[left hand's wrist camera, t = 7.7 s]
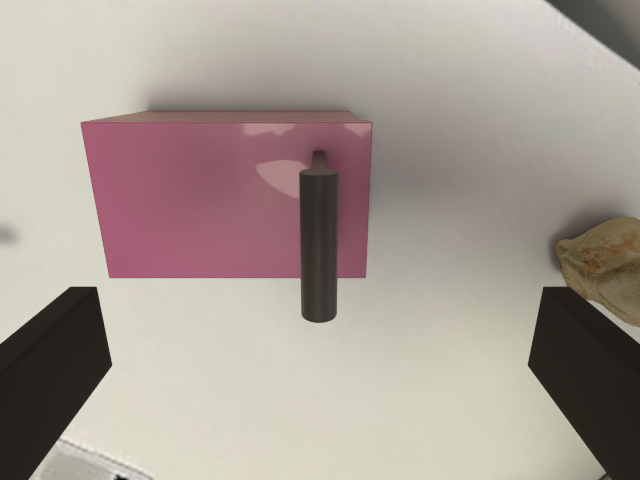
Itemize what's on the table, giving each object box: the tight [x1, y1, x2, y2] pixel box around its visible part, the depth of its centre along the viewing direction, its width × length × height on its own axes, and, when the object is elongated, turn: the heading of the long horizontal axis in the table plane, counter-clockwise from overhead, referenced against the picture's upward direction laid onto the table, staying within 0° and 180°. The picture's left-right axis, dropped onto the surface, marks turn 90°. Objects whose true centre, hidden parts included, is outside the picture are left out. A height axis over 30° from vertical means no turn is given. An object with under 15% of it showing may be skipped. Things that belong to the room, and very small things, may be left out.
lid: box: [81, 121, 372, 323], centre depth 22 cm, size 16×10×9 cm, turn 90°
